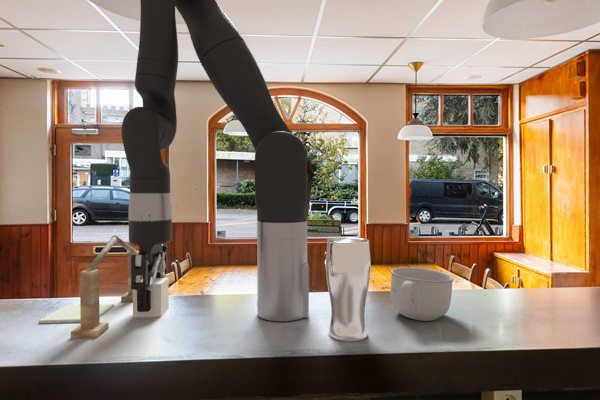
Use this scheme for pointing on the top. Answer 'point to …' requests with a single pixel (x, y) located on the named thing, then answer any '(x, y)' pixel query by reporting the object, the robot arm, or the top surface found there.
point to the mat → (71, 314)
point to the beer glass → (348, 287)
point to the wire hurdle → (91, 293)
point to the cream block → (154, 299)
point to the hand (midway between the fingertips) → (151, 304)
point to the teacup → (421, 292)
